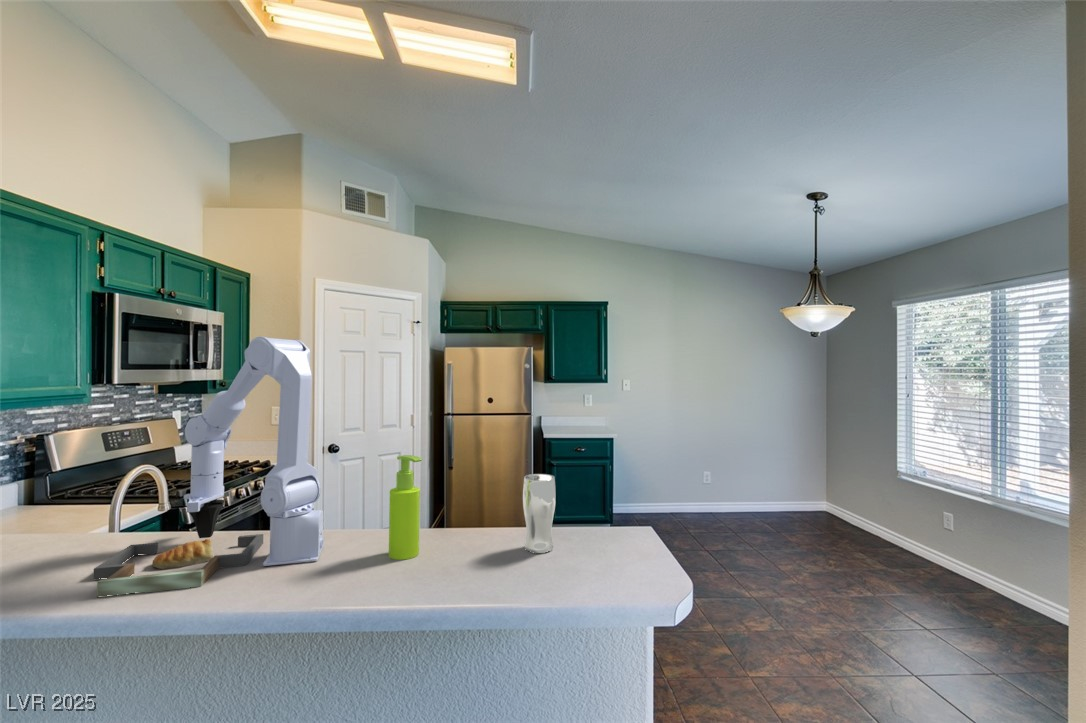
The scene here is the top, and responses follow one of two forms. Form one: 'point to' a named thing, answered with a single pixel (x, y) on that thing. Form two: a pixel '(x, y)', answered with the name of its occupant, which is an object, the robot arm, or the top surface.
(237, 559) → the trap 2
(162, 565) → the pastry
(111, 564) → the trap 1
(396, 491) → the soap dispenser
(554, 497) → the beer glass
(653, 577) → the top surface
